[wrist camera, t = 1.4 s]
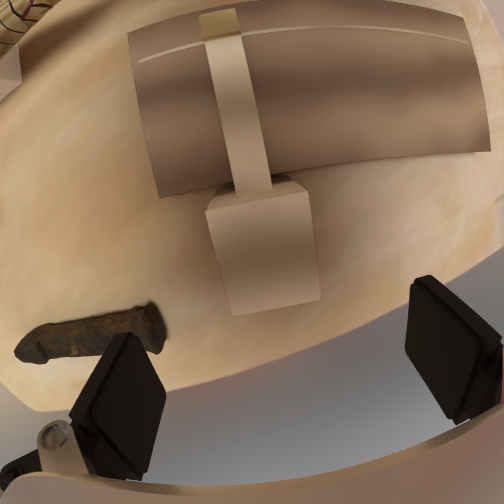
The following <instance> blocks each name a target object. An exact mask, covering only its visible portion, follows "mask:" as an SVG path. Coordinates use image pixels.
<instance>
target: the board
mask: <svg viewBox="0 0 504 504" xmlns="http://www.w3.org/2000/svg"><path fill="white" fill-rule="evenodd" d="M232 8H235V11H236V15H237V19H238V23H239V27H240V34H241V39H242V43H243V47H244V52H245V56H246V60H247V65H248V69H249V74H250V79H251V83H252V88H253V92H254V97H255V102H256V107H257V111H258V116H259V121H260V126H261V131H262V136H263V141H264V146H265V151H266V156H267V161H268V167H269V172H270V174H276V173H281V172H287V171H293V170H299V169H305V168H312V167H318V166H325V165H332V164H339V163H347V162H355V161H363V160H371V159H380V158H390V157H401V156H412V155H424V154H439V153H457V152H487V151H491V146H490V135H489V126H488V118H487V111H486V105H485V99H484V93H483V88H482V83H481V78H480V74H479V70H478V66H477V62H476V58H475V54H474V51H473V47H472V44H471V40H470V37H469V34H468V31H467V28H466V25H465V22H464V20H463V18H462V17H459V16H456V15H452V14H449V13H445V12H441V11H437V10H433V9H429V8H424V7H419V6H414V5H409V4H403V3H397V2H390V1H383V0H258V1H250V2H243V3H236V4H230V5H225V6H220V7H215V8H210V9H205V10H201V11H197V12H193V13H189V14H185V15H181V16H177V17H174V18H171V19H167V20H164V21H161V22H158V23H154V24H151V25H149V26H146V27H143V28H140V29H137V30H135V31H132V32H129V33H128V41H129V48H130V55H131V62H132V69H133V75H134V81H135V87H136V93H137V98H138V104H139V109H140V114H141V119H142V124H143V129H144V134H145V139H146V143H147V148H148V152H149V157H150V161H151V165H152V170H153V174H154V178H155V182H156V186H157V190H158V194H159V198H164V197H168V196H172V195H176V194H180V193H184V192H188V191H193V190H197V189H201V188H206V187H210V186H215V185H220V184H224V183H229V182H234V181H233V176H232V171H231V166H230V162H229V157H228V152H227V147H226V143H225V138H224V133H223V128H222V124H221V119H220V114H219V109H218V104H217V100H216V95H215V90H214V85H213V80H212V76H211V71H210V66H209V61H208V56H207V51H206V47H205V42H204V39H203V36H202V31H201V26H200V21H199V16H198V15H202V14H206V13H211V12H216V11H221V10H226V9H232Z"/></svg>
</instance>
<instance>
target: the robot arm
mask: <svg viewBox="0 0 504 504" xmlns="http://www.w3.org/2000/svg"><path fill="white" fill-rule="evenodd" d="M501 339H502V336H501V335H500V334H499V333H498V332H497V331H495V330H494V329H493V328H492V327H491V326H490V325H489V324H488V323H487V322H486V321H485V320H483V319H482V318H481V317H480V316H479V315H478V314H477V313H476V312H475V311H474V310H472V309H471V308H470V307H469V306H468V305H467V304H466V303H464V302H463V301H462V300H461V299H459V297H457V296H456V295H455V294H454V293H453V292H451V291H450V290H449V289H448V288H447V287H445V286H444V285H443V284H442V283H441V282H439V281H438V280H437V279H436V278H434V277H433V276H432V275H426V276H423V277H419V278H416V279H415V280H414V283H413V284H411V286H410V296H409V310H408V321H407V332H406V340H405V351H406V354H407V356H408V357H409V359H410V360H411V362H412V363H413V365H414V366H415V368H416V370H417V371H418V372H419V374H420V376H421V377H422V379H423V380H424V382H425V383H426V385H427V386H428V388H429V390H430V391H431V393H432V394H433V396H434V397H435V399H436V401H437V402H438V404H439V405H440V407H441V409H442V410H443V412H444V414H445V415H446V417H447V418H448V419H452V420H453V422H454V423H455V425H458V424H460V423H462V422H464V421H465V420H467V419H470V420H469V421H467V422H465V423H463V424H462V425H459V426H457V427H455V428H453V429H451V430H449V431H447V432H445V433H442V434H441V435H438V436H436V437H434V438H432V439H429V440H427V441H424V442H422V443H420V444H417V445H415V446H412V447H410V448H407V449H405V450H402V451H399V452H396V453H393V454H391V455H388V456H385V457H382V458H379V459H375V460H372V461H369V462H365V463H362V464H358V465H355V466H351V467H347V468H344V469H339V470H336V471H331V472H327V473H322V474H317V475H312V476H307V477H301V478H295V479H288V480H282V481H274V482H265V483H256V484H241V485H220V486H186V485H167V484H154V483H144V482H134V481H126V478H127V479H130V480H138V481H142V476H143V473H146V472H147V470H148V467H149V463H150V459H151V455H152V451H153V447H154V443H155V439H156V435H157V431H158V427H159V423H160V420H161V416H162V412H163V408H164V405H165V401H166V391H165V389H164V387H163V385H162V383H161V381H160V379H159V377H158V375H157V373H156V371H155V369H154V367H153V365H152V363H151V361H150V359H149V357H148V355H147V353H146V351H145V349H144V347H143V344H142V342H141V340H140V338H139V337H138V336H137V335H134V333H133V332H122V333H116V334H115V335H114V337H113V339H112V340H111V342H110V343H109V345H108V347H107V348H106V350H105V352H104V353H103V355H102V357H101V358H100V360H99V362H98V363H97V365H96V367H95V369H94V370H93V372H92V374H91V375H90V377H89V379H88V381H87V382H86V384H85V386H84V388H83V389H82V391H81V393H80V395H79V397H78V398H77V400H76V402H75V404H74V406H73V408H72V409H71V411H70V413H69V417H70V418H71V419H72V422H71V424H69V423H68V422H66V421H63V420H56V421H53V422H51V423H49V424H47V425H46V426H45V427H44V428H43V429H42V430H41V431H40V433H39V435H38V438H37V447H38V449H36V450H34V451H32V452H30V453H28V454H26V455H24V456H22V457H20V458H18V459H16V460H14V461H12V462H10V463H8V464H7V465H5V466H4V467H3V468H2V470H1V472H0V504H504V345H503V344H502V343H501Z"/></svg>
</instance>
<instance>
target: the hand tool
mask: <svg viewBox="0 0 504 504" xmlns="http://www.w3.org/2000/svg"><path fill="white" fill-rule="evenodd" d="M122 332H133V333H134V335H137V336H138V337H139V338H140V340H141V342H142V344H143V347H144V349H145V351H149V352H152V353H154V354H156V355H158V354H159V353H160V352H161V351H162V349H163V346H164V342H165V340H166V334H165V327H164V325H163V322H162V318H161V316H160V314H159V312H158V310H157V309H156V307H155V306H154V305H153V304H151V303H149V304H147V305H146V306H145V307H144V308H143V309H141V308H138V307H136V308H134V309H131V310H129V312H126V313H122V314H115V315H108V316H103V317H100V318H95V319H91V318H88V319H87V320H82V321H76V322H72V323H65V324H58V325H53V324H52V323H47V324H43V325H41V326H38V327H37V328H35V329H34V330H32V331H31V332H29V333H28V334H26V336H25V337H24V338H22V339H21V341H20V342H19V343H18V345H17V346H16V348H15V350H14V353H15V356H16V357H17V358H18V359H19V360H20V361H22V362H25V363H34V364H46V363H47V362H48V360H49V359H55V358H61V357H82V356H98V355H103V353H104V352H105V350H106V348H107V347H108V345H109V343H110V342H111V340H112V339H113V337H114V335H115V334H116V333H122Z"/></svg>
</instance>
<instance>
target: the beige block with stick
mask: <svg viewBox="0 0 504 504" xmlns="http://www.w3.org/2000/svg"><path fill="white" fill-rule="evenodd" d="M198 16H199V21H200V26H201V31H202V36H203V39H204V42H205V47H206V51H207V56H208V61H209V66H210V71H211V76H212V80H213V85H214V90H215V95H216V100H217V104H218V109H219V114H220V119H221V124H222V128H223V133H224V138H225V143H226V147H227V152H228V157H229V162H230V166H231V171H232V176H233V181H234V185H235V186H231V187H226V188H222V189H218V190H217V192H216V193H215V195H214V197H213V198H212V200H211V202H210V203H209V205H208V207H207V208H206V210H205V214H206V218H207V222H208V227H209V231H210V235H211V239H212V243H213V247H214V251H215V254H216V258H217V262H218V266H219V270H220V274H221V278H222V281H223V285H224V289H225V293H226V296H227V300H228V304H229V307H230V311H231V315H232V317H233V316H239V315H245V314H250V313H256V312H262V311H267V310H273V309H278V308H283V307H288V306H294V305H299V304H304V303H309V302H313V301H318V300H321V291H320V281H319V271H318V263H317V254H316V246H315V238H314V230H313V223H312V215H311V208H310V202H309V195H308V191H307V190H306V189H304V188H303V187H302V186H300V185H299V184H298V183H296V182H295V181H294V180H293V179H291V178H290V177H289V176H284V177H278V178H272V179H271V177H270V172H269V167H268V161H267V156H266V151H265V146H264V141H263V136H262V131H261V126H260V121H259V116H258V111H257V107H256V102H255V97H254V92H253V88H252V83H251V79H250V74H249V69H248V65H247V60H246V56H245V52H244V47H243V43H242V39H241V34H240V27H239V23H238V19H237V15H236V11H235V8H232V9H226V10H221V11H216V12H211V13H206V14H202V15H198Z"/></svg>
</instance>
